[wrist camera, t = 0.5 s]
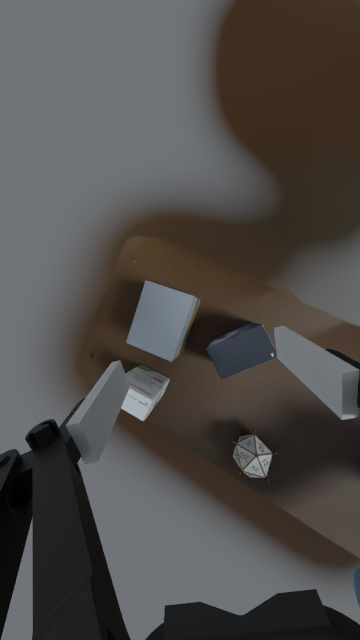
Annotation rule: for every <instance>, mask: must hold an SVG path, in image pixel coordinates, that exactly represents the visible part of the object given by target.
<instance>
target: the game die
mask: <svg viewBox="0 0 360 640" xmlns="http://www.w3.org/2000/svg"><path fill="white" fill-rule="evenodd" d="M255 432H256V431H255V429H254V430H253V434H249V435H243V436H241V434H240V433H238V436H240V437H239V439H238V440H237V442H235V441H232V442H233V444H235V448H234V452H233V456H229V458H230V459H231V458H233V459H234V460H235V462H236V463H237V465H238V467H239V468H240V470H241V471H240V472H239V475H242V472H243V473H244V474H246V475H247V476H248V480H249V482H250V481H251V478H264V479H266V481H267V483H269V480H268V479H267V475H268V471H269V470H270V469H271V467H270V464H271V460H272V457H273V455H276V454H277V452H272V451H271V450H270V449H269V448H268V447H267V446H266V445H265V444H264V443H263V439H259V438H258V437H257V436H256V435H255ZM269 484H270V483H269Z"/></svg>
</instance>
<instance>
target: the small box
mask: <svg viewBox="0 0 360 640" xmlns="http://www.w3.org/2000/svg"><path fill="white" fill-rule="evenodd" d="M207 351H208V353H209V356H210V358H211V360H212V362H213V364H214V366H215V368H216V370H217V372H218V374H219V376H220V378H221V380H222V379H225V378H227V377H230V376H233V375H235V374H238V373H240V372H243V371H246V370H248V369H251V368H253V367H256V366H258V365H261V364H263V363H266V362H268V361H271V360H273V359H276V358H277V352H276V349H275V347H274V345H273V343H272V341H271V340H270V338H269V336H268V334H267V332H266V330H265V328H264V326H263V325H262V324H257V323H250V324H248V325H245V326H243V327H241V328H238V329H236V330H234V331H232V332H229V333H227V334H225V335H223V336H220V337H218V338H216V339H214V340H212V341H211V342H210V344H209V346H208V348H207Z"/></svg>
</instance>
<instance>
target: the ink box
mask: <svg viewBox="0 0 360 640" xmlns="http://www.w3.org/2000/svg"><path fill="white" fill-rule="evenodd" d="M125 375H126V378H127V381H128V383H129V386H130V388H129V390H128V393H127V395H126V397H125V400H124V402H123V404H122V407H121V409H124V410H125V411H127V412H128V413H130V414H132V415H133V416H135V417H137V418H138V419H140V420H142V421H144V420H145V419H146V418H147V416H148V415H149V414H150V412H151V411H152V410H153V408H154V407H155V405H156V404H157V403H158V401H159V400H160V399H161V397H162V396H163V394H164V392H165V390H166V388H167V385H168V383H169V380H170V379H169V378H167V377H165V376H163V375H161V374H159V373H157V372H155V371H153V370H151V369H149V368H147V367H145V366H143V365H142V364H140V365H139V366H137V367H135V368H134V369H132V370H130V371H129V372H127V373H126V374H125Z"/></svg>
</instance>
